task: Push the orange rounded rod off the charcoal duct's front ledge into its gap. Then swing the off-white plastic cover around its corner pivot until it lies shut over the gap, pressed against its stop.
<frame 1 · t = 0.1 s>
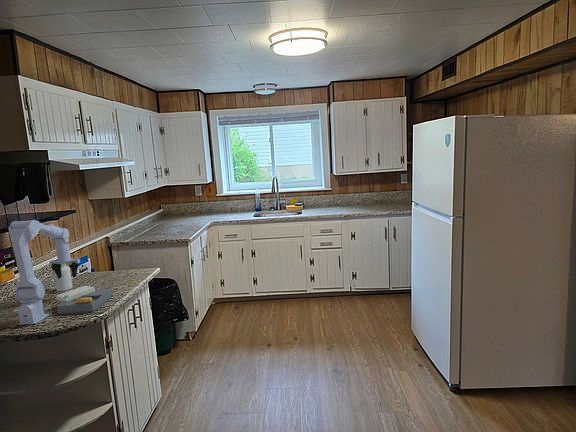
hand: (67, 277, 198), 10 cm above the worktop, tool pointing down, fingers open, 7 cm apart
cover: (76, 293, 188), point 5 cm above the worktop, hinge at 60.0°
orange rounded rod: (83, 302, 178), point 4 cm above the worktop, touching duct
pill bottle: (64, 289, 212), on the worktop
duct: (85, 306, 184), on the worktop
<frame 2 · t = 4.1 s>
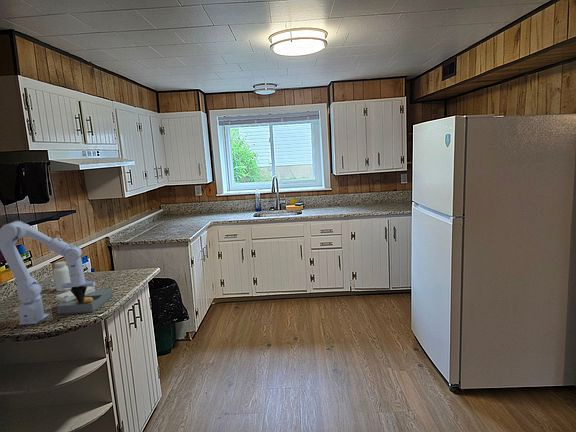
hand: (81, 302, 176), 5 cm above the worktop, tool pointing down, fingers closed, pressing on orange rounded rod
orange rounded rod: (83, 302, 178), point 4 cm above the worktop, tilted 17°, touching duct, gripper
everything else where it was.
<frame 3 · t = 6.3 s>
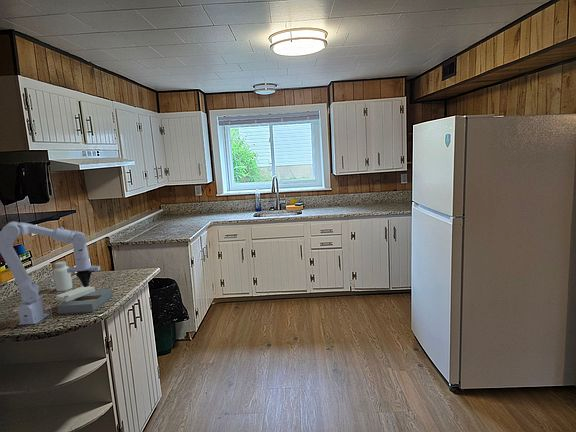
hand: (86, 286, 181), 10 cm above the worktop, tool pointing down, fingers closed
orange rounded rod: (91, 304, 185), point 1 cm above the worktop, tilted 18°, touching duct
everything else where it was.
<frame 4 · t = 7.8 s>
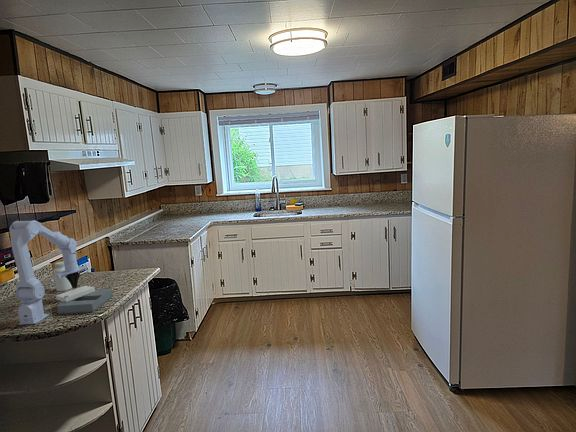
hand: (74, 287, 196), 5 cm above the worktop, tool pointing down, fingers closed
orange rounded rod: (90, 302, 184), point 2 cm above the worktop, tilted 107°, touching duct
everything else where it was.
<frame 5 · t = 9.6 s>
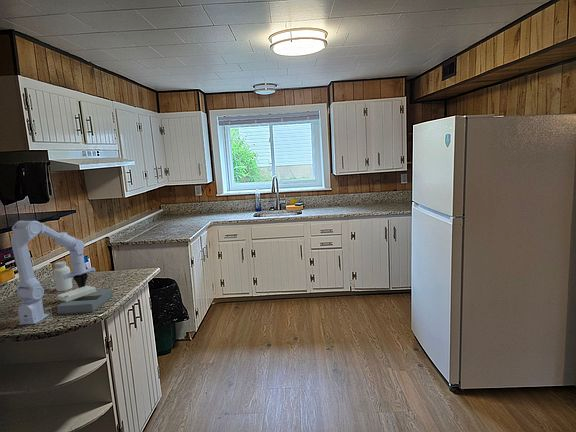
hand: (82, 289, 195), 5 cm above the worktop, tool pointing down, fingers closed
cover: (77, 293, 188), point 5 cm above the worktop, hinge at 56.2°, touching gripper
orange rounded rod: (91, 303, 185), point 1 cm above the worktop, tilted 55°, touching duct
everything else where it was.
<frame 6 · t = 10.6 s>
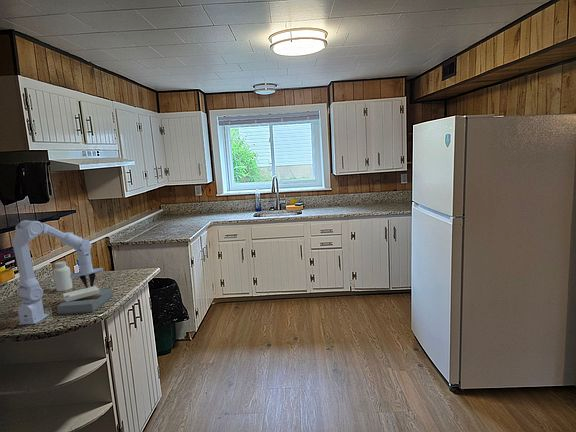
hand: (89, 289, 194), 5 cm above the worktop, tool pointing down, fingers closed, pressing on cover
cover: (81, 293, 187), point 5 cm above the worktop, hinge at 38.8°, touching gripper
orange rounded rod: (91, 304, 185), point 1 cm above the worktop, tilted 27°, touching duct
everything else where it was.
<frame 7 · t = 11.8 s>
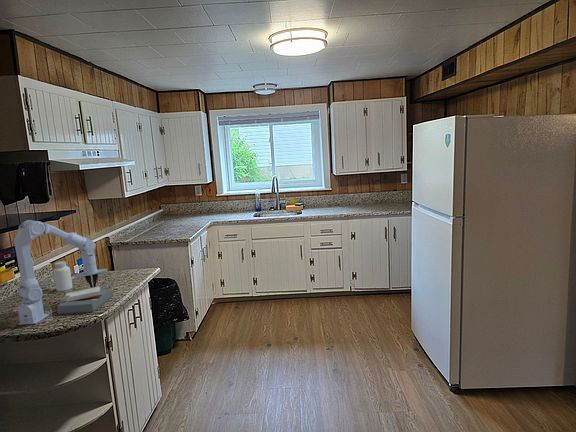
hand: (93, 289, 193), 5 cm above the worktop, tool pointing down, fingers closed, pressing on cover
cover: (83, 293, 186), point 5 cm above the worktop, hinge at 28.2°, touching gripper
orange rounded rod: (91, 304, 185), point 1 cm above the worktop, tilted 7°, touching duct
everything else where it was.
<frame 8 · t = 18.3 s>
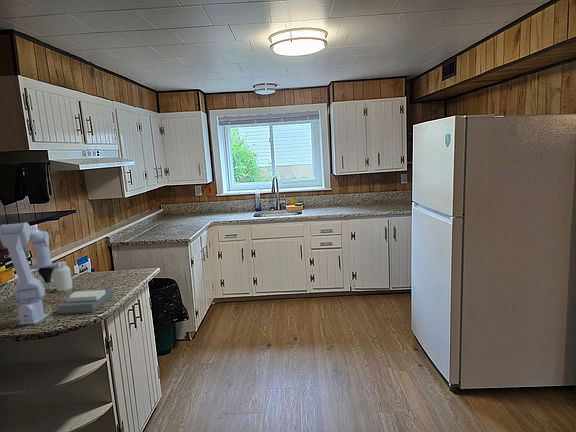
hand: (48, 282, 191), 10 cm above the worktop, tool pointing down, fingers closed
cover: (85, 295, 183), point 5 cm above the worktop, hinge at -1.1°
orange rounded rod: (91, 304, 185), point 1 cm above the worktop, tilted 23°, touching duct
everything else where it was.
at the end: orange rounded rod inside the target area on the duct (1.6 cm from its centre), point 0.6 cm above the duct's base; cover at -1° (first picture: +60°) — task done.
